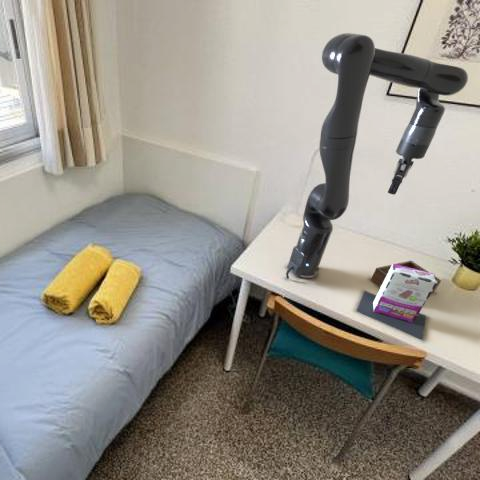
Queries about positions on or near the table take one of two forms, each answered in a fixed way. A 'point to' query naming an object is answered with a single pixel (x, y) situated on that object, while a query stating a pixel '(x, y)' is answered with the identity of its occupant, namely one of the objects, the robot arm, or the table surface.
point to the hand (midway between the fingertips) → (393, 189)
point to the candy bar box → (404, 292)
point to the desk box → (383, 271)
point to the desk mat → (407, 327)
